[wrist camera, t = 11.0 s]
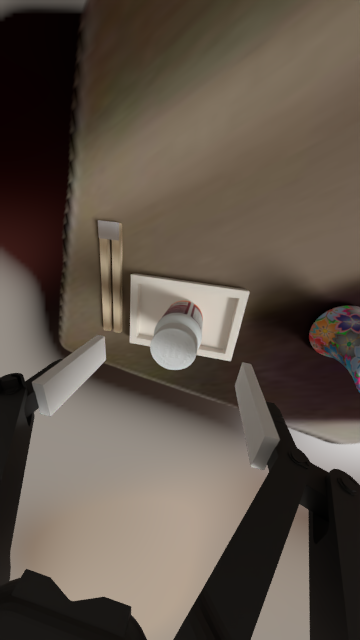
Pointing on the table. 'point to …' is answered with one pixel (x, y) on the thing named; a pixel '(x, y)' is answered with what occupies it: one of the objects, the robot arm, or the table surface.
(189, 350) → the pill bottle
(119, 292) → the tongs
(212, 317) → the tray
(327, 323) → the mug
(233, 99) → the table surface
